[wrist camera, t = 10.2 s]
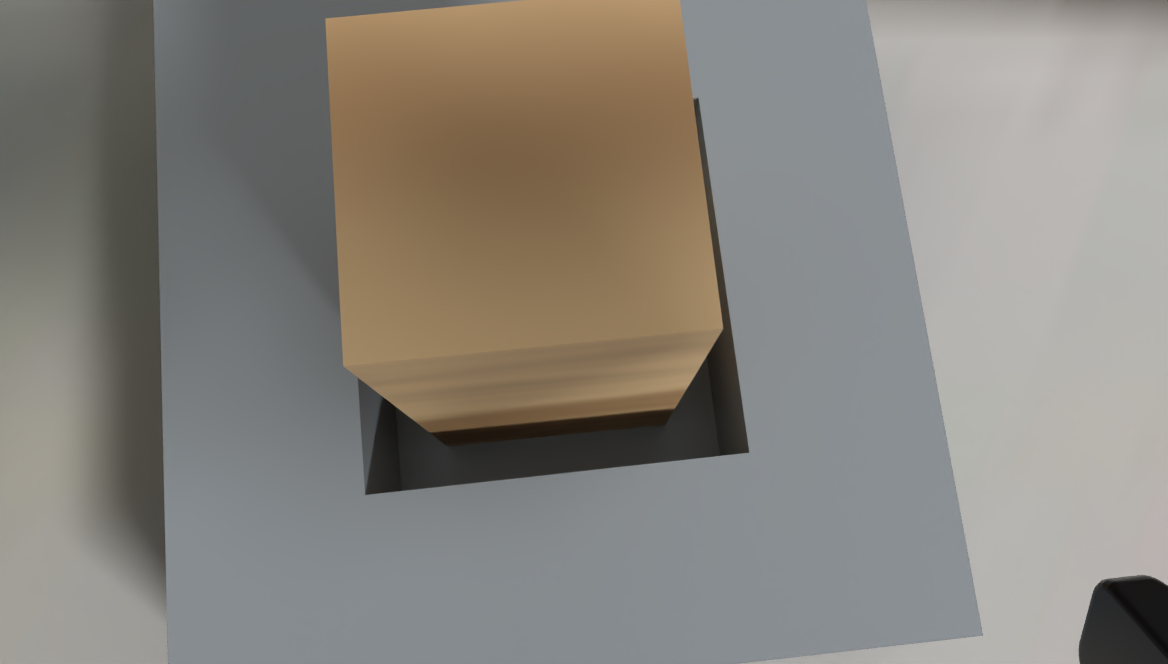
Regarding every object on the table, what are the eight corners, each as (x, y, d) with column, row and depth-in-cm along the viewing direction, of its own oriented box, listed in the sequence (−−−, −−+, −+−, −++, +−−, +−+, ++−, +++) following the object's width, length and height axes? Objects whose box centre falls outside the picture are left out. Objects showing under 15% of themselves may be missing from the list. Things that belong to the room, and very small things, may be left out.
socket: (906, 619, 20) (983, 635, 16) (250, 694, 20) (169, 728, 16) (805, 24, 23) (850, -84, 19) (227, 83, 23) (153, -15, 19)
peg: (665, 424, 21) (723, 328, 12) (447, 446, 21) (343, 366, 12) (640, 217, 22) (677, -15, 13) (432, 237, 21) (325, 18, 13)
